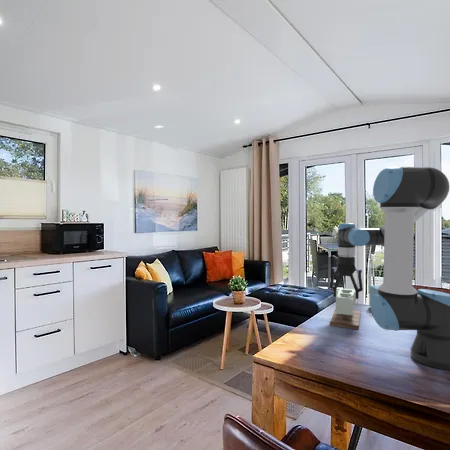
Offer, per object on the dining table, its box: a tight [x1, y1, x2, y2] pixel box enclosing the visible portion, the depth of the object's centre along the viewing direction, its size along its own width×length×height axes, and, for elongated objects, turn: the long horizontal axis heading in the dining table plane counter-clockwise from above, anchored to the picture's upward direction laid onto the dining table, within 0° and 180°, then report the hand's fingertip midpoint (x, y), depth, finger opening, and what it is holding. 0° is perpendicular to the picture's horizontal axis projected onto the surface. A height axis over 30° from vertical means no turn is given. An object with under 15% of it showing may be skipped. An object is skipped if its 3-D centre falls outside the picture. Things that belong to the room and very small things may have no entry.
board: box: [329, 307, 362, 330], centre depth 153 cm, size 25×12×11 cm, turn 155°
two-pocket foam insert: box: [335, 288, 355, 315], centre depth 152 cm, size 21×7×7 cm, turn 155°
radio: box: [368, 271, 382, 307], centre depth 167 cm, size 16×9×20 cm, turn 179°
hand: (345, 304), depth 152 cm, fingers closed on two-pocket foam insert, 7 cm apart
